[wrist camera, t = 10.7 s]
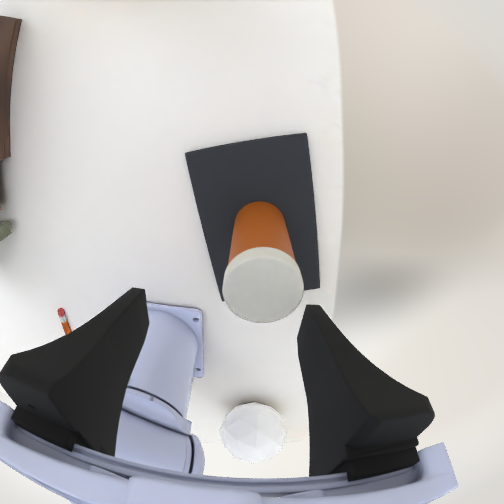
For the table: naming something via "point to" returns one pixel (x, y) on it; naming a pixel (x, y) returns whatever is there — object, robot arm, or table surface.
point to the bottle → (261, 266)
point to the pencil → (63, 321)
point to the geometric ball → (253, 432)
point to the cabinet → (6, 77)
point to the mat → (257, 195)
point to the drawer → (4, 229)
